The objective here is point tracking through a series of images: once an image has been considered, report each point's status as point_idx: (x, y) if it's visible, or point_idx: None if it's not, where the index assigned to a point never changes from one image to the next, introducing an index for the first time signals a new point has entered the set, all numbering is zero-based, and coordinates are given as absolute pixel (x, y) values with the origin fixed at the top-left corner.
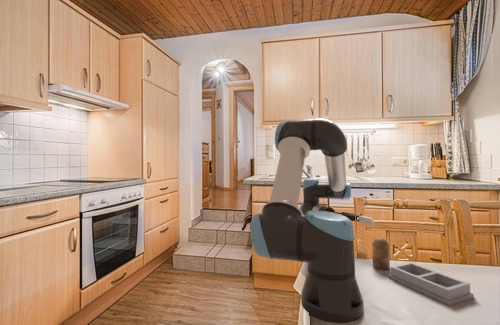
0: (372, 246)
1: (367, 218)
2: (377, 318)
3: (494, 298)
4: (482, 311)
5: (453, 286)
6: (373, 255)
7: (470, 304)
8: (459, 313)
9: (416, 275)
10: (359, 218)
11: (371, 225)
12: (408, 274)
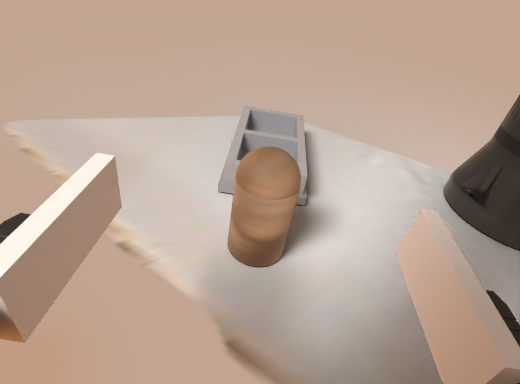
0: (293, 199)
1: (91, 188)
2: (434, 169)
3: (211, 116)
4: None
5: (280, 113)
6: (290, 222)
7: None
8: (306, 130)
9: None
10: (12, 303)
11: (118, 207)
12: (305, 151)
